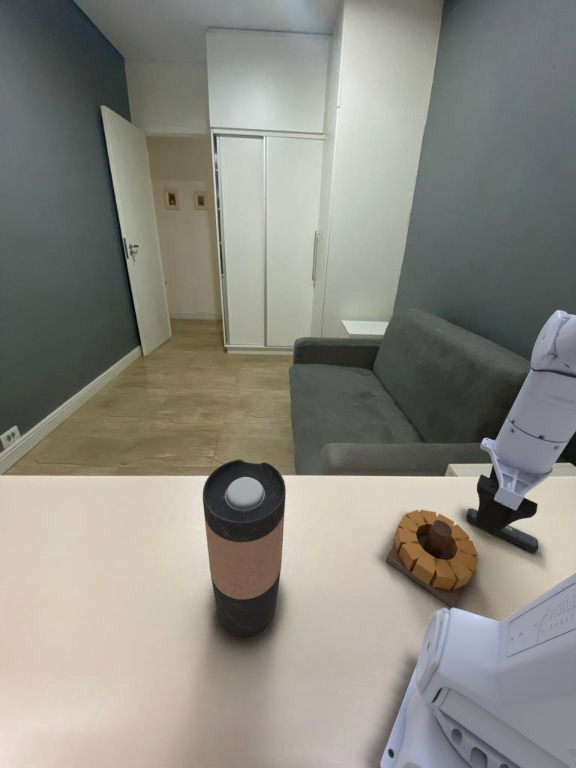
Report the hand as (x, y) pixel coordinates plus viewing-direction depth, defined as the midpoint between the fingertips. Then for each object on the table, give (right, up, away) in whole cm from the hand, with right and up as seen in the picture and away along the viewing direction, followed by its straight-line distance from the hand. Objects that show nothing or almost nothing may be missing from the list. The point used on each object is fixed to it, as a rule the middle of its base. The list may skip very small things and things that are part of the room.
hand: (490, 508), depth 40 cm
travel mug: (-32, -11, -3) cm, 33 cm away
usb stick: (+6, -7, +8) cm, 12 cm away
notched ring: (-6, -7, +3) cm, 10 cm away
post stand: (-7, -8, +4) cm, 11 cm away
